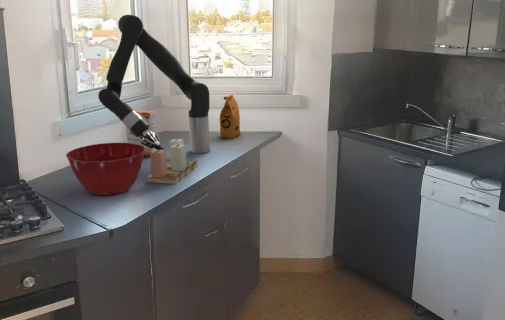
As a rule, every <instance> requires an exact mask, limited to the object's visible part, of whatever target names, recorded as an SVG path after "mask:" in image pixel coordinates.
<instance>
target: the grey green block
mask: <svg viewBox="0 0 505 320" xmlns="http://www.w3.org/2000/svg"><path fill="white" fill-rule="evenodd" d="M170 149H171V159H170V161H171V163H172V171H182V170H183V169H185V168H186V162H187V156H186V145H185V144H184V145H177V144H175V145H173V146H171V147H170V146H169V150H170Z"/></svg>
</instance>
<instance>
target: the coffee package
mask: <svg viewBox="0 0 505 320" xmlns="http://www.w3.org/2000/svg"><path fill="white" fill-rule="evenodd" d="M223 100H224V101H225V102H224V105H223V107H222V109H221V110H220V113H219V128H220V129H219V132H220V135H219V136H220V137H221V138H226V139H235V138H236V137H238V136H240V134H241V123H240V122H241V121H240V108H239V104H238V102H237V100H236V98H235V97H234V96H233V93H229V95H228V96H224V97H223Z"/></svg>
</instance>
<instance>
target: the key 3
mask: <svg viewBox="0 0 505 320" xmlns="http://www.w3.org/2000/svg"><path fill="white" fill-rule="evenodd" d="M166 151H167V150H166V149H165V150H161V149H159V150H153V151H152V152H150V156H149V158H150V167H151V168H150V169H151V174H152V177H164V176H165V175H167V163H168V162H167V152H166Z"/></svg>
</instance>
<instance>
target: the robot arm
mask: <svg viewBox="0 0 505 320" xmlns="http://www.w3.org/2000/svg"><path fill="white" fill-rule="evenodd" d="M117 25H118V30H119V31H120V33H121V35H120V36H121V37H120V42H119V44H118V47H117V50H116V52H115V54H114V55H113V57H112V59H111V62H110V64H109V68H108V70H107V74H106V81H107V85H106V87H105V88H103V89H100V91H99V92H98V94H97V96H98V97H97V98H98V100H99V102H100V103H101V105H103V106H104V107H105V108H106V109H107V110H109V112H111V113H113V114H114V115H115V116H116V117H117V118H118V119H119V120H120V121H121V122H122V123H123V125H124V126H125V128H126V127H127V128H128V129H129V130H130V131H131V132H132V133H133V134H134V135H135V136H136V137H140V138H141V139H142V141H141V144H143V145H145V146H147V147H149V148H151V149H152V148H154V149H156V150H159V149H161V150H166V149H165V148H164V147H163V146H162V145H161V142H162V141H161V139H160V136H159V134H158V133H159V132H158V133H157V132H156V133H153V132H152V131H151V130H149V125H148V124H147V123H146V122H145V121H144V119H143V118H142V117H141V116H140V115H139V114H137V113H136V112H135V111H134V110H135V109H133V107H131V106H130V105H129V103H127V102H124V101H123V100H121V99H120V98H121V95H122V90H123V89H122V87H123V82H124V78H125V75H126V72H127V70H128V66H129V64H130V59H131V57H132V54H133V51H134V49H135V47H138V48H139V49H140V50H141V52H143V54H144V55H145V56H146V57H147V58H148V60H150V62H151V63H152V64H153V65H154V66H155V67H156V68H157V69H158V70H159V71H161V72H162V73H163V75H165V76H166V77H167V78H168V79H169V80H170V81H172V82H173V83H174V84H175V85H176V86H177V87H178V89H179V90H181V92H182V93H183V94H184V95H185V97H186V98H188V100H190V105H191V106H190V109H188V124H189V140H190V142H189V143H190V144H189V145H190V152H191V153H192V154H206V153H209V152H210V151H211V144H210V140H211V139H210V126H209V125H210V124H209V123H210V122H209V111H210V89H209V87H208V86H207V84H205V83H203V82H200V81H197V80H196V79H194V78H193V77H192V76H191V75H190V74H188V72H187V71H186V70H185V69H184V67H183V66H182V63H181V62H180V60H179V59H178V58H177V57H176V56H175V55H174V53H173V52H172V51H170V50H169V48H167V47H166V46H165V45H164V44H162V43H161V42H160V41H158V40H157V39H156V38H154V37H153V36H152V35H150V33H149V32H148V31H147V30H146V29H145V28H144V22H143V20H142V19H141V18H140V17H139V16H137V15H134V14H125V15H122V16H121V17H119V20H118V23H117Z"/></svg>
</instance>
